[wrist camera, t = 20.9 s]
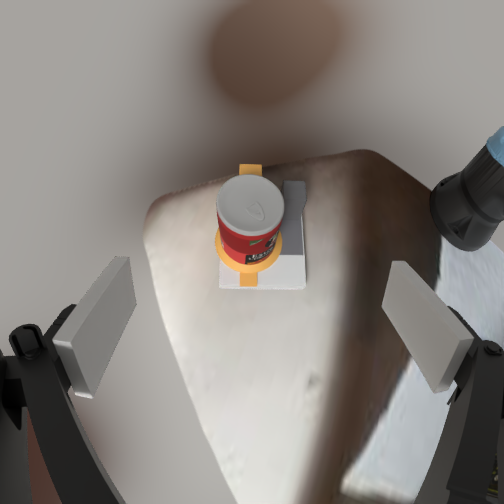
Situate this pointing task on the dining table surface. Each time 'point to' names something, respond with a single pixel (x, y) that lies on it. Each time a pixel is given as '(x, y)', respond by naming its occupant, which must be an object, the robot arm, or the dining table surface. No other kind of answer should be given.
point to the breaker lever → (250, 169)
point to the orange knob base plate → (283, 256)
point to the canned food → (249, 217)
